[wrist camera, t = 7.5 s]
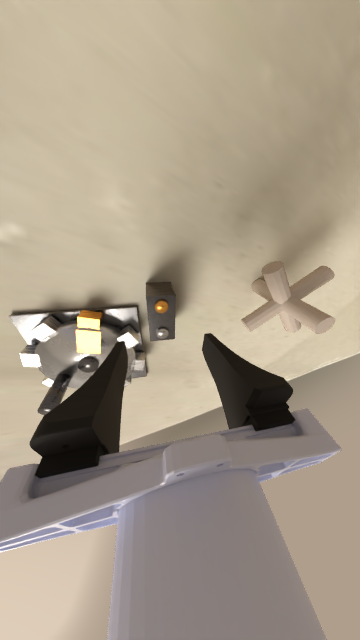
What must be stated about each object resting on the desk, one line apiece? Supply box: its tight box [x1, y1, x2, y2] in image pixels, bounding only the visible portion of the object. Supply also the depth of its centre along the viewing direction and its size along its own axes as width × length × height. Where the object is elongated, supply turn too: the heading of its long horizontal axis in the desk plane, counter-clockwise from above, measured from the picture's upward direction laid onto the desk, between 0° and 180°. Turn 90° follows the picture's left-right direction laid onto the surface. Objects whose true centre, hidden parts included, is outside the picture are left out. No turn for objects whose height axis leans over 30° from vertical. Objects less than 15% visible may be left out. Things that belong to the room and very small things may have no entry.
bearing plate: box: [9, 306, 147, 388], centre depth 23 cm, size 14×14×1 cm
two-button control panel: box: [146, 282, 175, 341], centre depth 19 cm, size 6×3×4 cm, turn 178°
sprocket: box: [20, 310, 145, 415], centre depth 20 cm, size 15×15×6 cm
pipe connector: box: [241, 261, 335, 334], centre depth 18 cm, size 10×10×10 cm
